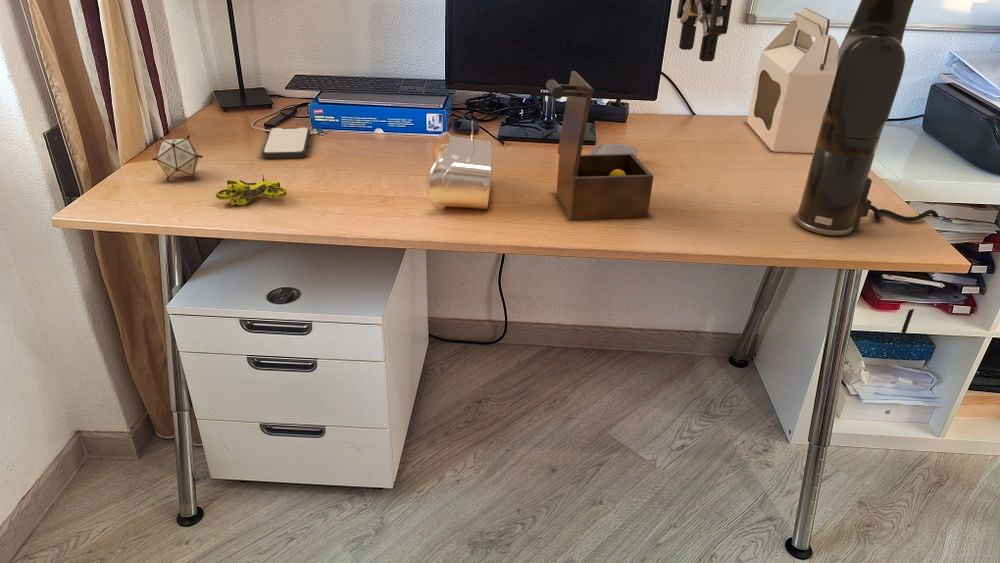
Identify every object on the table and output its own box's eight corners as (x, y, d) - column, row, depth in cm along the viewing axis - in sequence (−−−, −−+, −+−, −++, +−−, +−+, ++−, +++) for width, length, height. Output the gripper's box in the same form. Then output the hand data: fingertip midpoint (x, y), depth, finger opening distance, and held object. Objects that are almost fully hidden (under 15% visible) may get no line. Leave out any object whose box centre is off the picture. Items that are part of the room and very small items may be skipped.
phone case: (305, 159, 148) (311, 133, 162) (305, 152, 147) (310, 126, 161) (261, 160, 147) (270, 134, 160) (260, 153, 146) (269, 127, 160)
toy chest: (627, 192, 137) (632, 153, 134) (647, 217, 127) (653, 176, 124) (556, 194, 135) (559, 155, 131) (570, 220, 125) (574, 178, 122)
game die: (174, 196, 139) (137, 153, 136) (210, 171, 142) (175, 129, 139) (180, 188, 131) (141, 143, 128) (218, 162, 135) (181, 117, 132)
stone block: (586, 183, 145) (636, 179, 143) (584, 160, 143) (634, 155, 141) (592, 165, 155) (638, 161, 153) (589, 143, 153) (637, 139, 151)
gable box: (746, 122, 179) (770, 4, 165) (799, 124, 179) (827, 6, 165) (772, 152, 160) (802, 21, 146) (831, 154, 160) (867, 23, 146)
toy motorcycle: (212, 188, 123) (219, 174, 129) (216, 208, 125) (223, 193, 131) (284, 185, 125) (287, 172, 131) (286, 206, 127) (290, 191, 133)
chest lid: (575, 71, 124) (543, 68, 123) (593, 88, 114) (558, 85, 113) (561, 152, 131) (530, 150, 130) (576, 176, 121) (543, 174, 120)
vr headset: (433, 177, 141) (431, 105, 134) (490, 178, 141) (492, 106, 134) (427, 215, 125) (425, 135, 118) (492, 216, 126) (493, 136, 119)
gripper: (758, -52, 101) (736, 65, 109) (717, -60, 113) (700, 45, 121) (708, -53, 100) (690, 65, 108) (672, -61, 112) (658, 45, 120)
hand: (695, 54), depth 115 cm, fingers open, 8 cm apart
